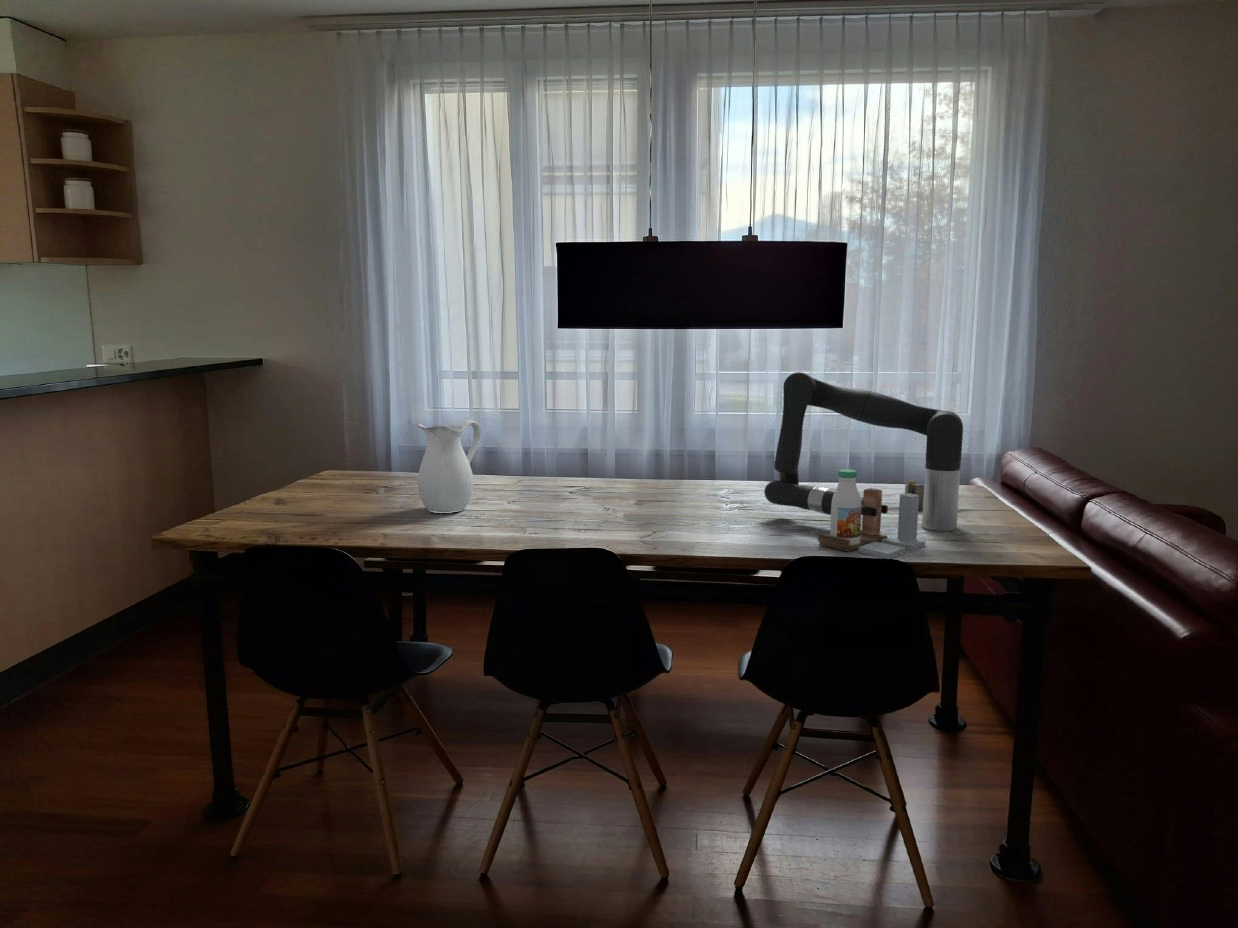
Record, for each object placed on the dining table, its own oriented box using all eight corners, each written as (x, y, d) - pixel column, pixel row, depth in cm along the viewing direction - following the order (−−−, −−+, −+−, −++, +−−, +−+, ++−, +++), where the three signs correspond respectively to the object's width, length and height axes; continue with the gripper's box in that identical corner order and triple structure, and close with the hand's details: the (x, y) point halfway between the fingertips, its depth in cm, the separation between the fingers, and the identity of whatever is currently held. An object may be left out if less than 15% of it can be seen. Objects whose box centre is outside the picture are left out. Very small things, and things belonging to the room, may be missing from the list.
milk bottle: (825, 546, 221) (827, 471, 217) (835, 539, 227) (838, 466, 224) (854, 550, 217) (857, 474, 213) (864, 543, 223) (867, 469, 219)
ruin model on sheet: (906, 509, 265) (908, 479, 263) (904, 507, 268) (905, 477, 266) (943, 510, 264) (945, 480, 263) (940, 508, 267) (942, 478, 266)
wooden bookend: (859, 532, 235) (862, 486, 232) (888, 538, 228) (891, 491, 226) (817, 544, 222) (819, 496, 219) (847, 551, 215) (849, 502, 213)
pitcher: (444, 519, 252) (440, 427, 248) (407, 511, 262) (403, 423, 258) (500, 505, 271) (498, 419, 266) (465, 498, 281) (462, 415, 276)
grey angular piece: (895, 539, 228) (898, 491, 226) (924, 545, 222) (928, 496, 219) (858, 551, 216) (860, 501, 214) (888, 558, 210) (891, 506, 208)
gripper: (813, 491, 234) (867, 501, 221) (842, 484, 243) (896, 493, 231) (812, 518, 235) (866, 529, 223) (841, 510, 244) (895, 520, 232)
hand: (881, 511), depth 227 cm, fingers open, 5 cm apart
